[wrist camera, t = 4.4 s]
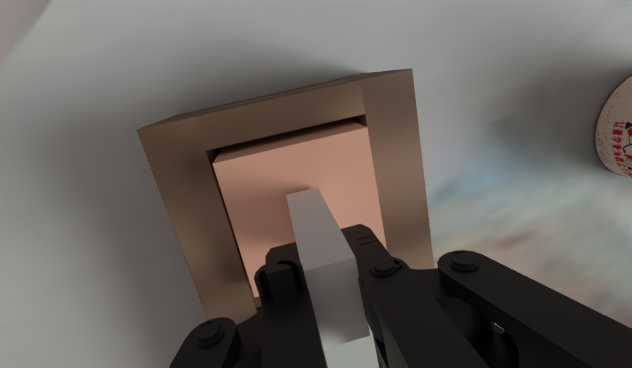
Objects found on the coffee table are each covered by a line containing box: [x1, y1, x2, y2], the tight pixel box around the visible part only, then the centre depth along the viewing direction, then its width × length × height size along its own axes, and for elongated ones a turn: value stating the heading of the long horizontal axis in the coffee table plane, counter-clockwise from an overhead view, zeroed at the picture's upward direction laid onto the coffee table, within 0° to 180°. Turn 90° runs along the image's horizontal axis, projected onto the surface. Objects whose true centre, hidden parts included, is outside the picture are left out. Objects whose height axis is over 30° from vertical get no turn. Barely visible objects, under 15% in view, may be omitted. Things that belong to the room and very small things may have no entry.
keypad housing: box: [137, 69, 434, 325], centre depth 23 cm, size 29×13×7 cm, turn 12°
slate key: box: [323, 325, 379, 368], centre depth 20 cm, size 7×7×5 cm
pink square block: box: [213, 118, 387, 297], centre depth 18 cm, size 7×7×5 cm
